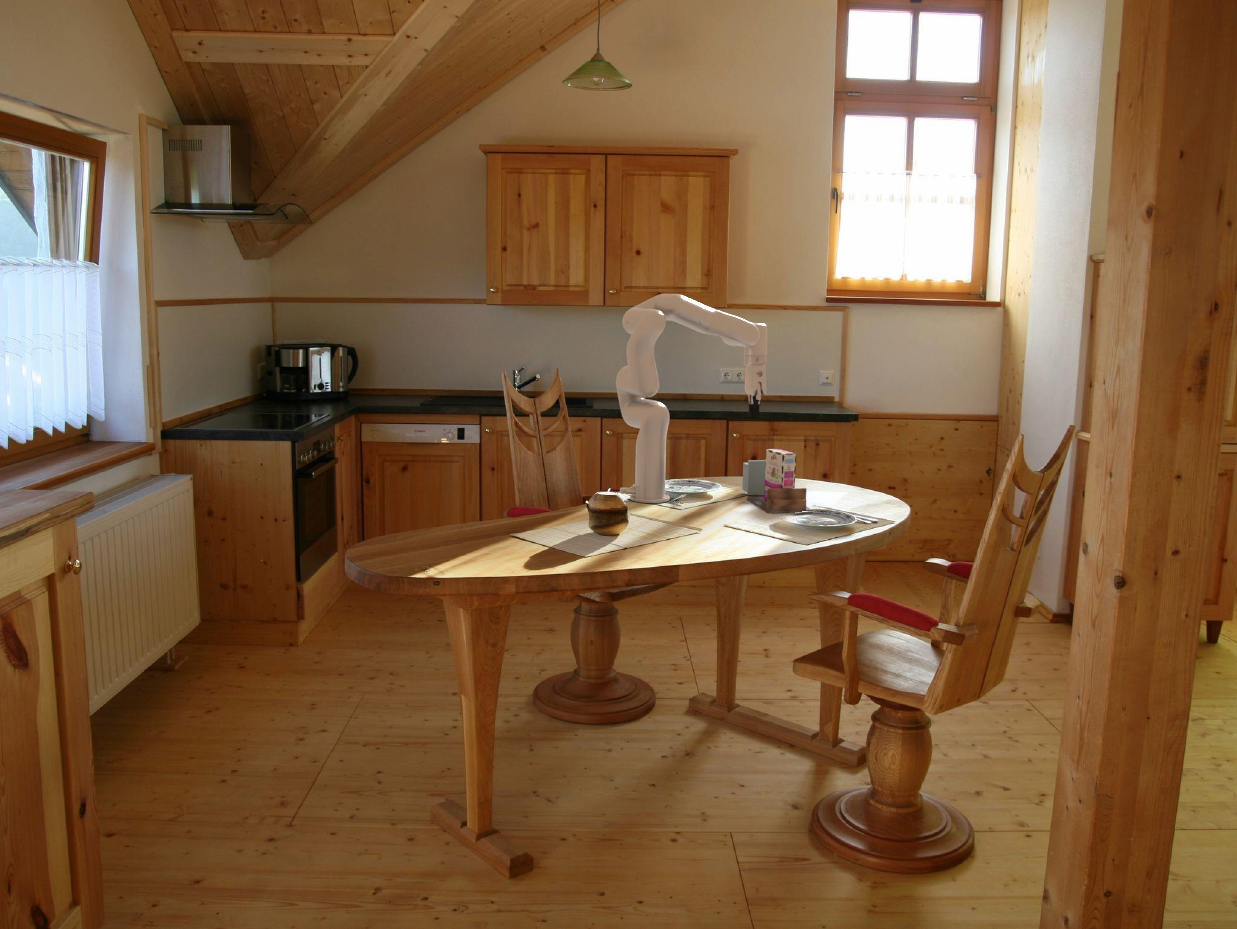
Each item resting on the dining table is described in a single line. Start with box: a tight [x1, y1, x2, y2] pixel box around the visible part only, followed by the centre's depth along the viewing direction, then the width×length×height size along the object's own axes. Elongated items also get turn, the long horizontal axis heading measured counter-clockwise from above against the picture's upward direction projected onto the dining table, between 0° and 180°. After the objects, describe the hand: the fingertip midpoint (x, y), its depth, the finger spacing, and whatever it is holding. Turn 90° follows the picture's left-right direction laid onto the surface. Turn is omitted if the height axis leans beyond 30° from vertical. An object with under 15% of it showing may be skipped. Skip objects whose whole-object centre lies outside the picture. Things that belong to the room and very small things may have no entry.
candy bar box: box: [763, 448, 797, 501], centre depth 333 cm, size 11×5×16 cm, turn 21°
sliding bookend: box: [742, 459, 766, 496], centre depth 349 cm, size 12×9×11 cm
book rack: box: [746, 487, 814, 515], centre depth 333 cm, size 14×22×7 cm, turn 11°
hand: (753, 415), depth 358 cm, fingers closed
